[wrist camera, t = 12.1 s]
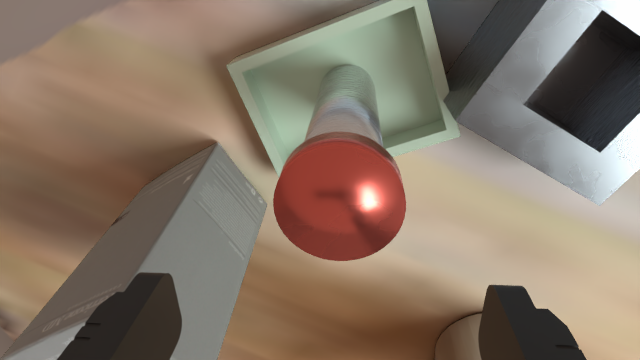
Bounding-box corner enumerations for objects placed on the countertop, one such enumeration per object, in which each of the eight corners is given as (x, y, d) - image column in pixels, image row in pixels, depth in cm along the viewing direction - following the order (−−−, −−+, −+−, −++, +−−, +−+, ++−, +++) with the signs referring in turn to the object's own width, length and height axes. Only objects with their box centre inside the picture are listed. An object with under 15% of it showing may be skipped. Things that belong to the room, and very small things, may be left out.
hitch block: (555, 160, 29) (599, 205, 24) (435, 89, 27) (455, 120, 22) (679, 28, 25) (767, 48, 19) (546, -67, 23) (603, -74, 18)
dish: (290, 173, 31) (284, 190, 29) (236, 57, 27) (226, 65, 25) (452, 122, 28) (460, 136, 26) (417, -15, 25) (423, -13, 22)
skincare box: (219, 137, 30) (102, 292, 16) (276, 211, 33) (216, 399, 19) (136, 188, 33) (-27, 359, 19) (194, 253, 35) (88, 445, 21)
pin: (358, 137, 29) (360, 279, 16) (299, 104, 28) (252, 225, 15) (397, 79, 27) (433, 189, 14) (334, 42, 26) (312, 122, 13)
